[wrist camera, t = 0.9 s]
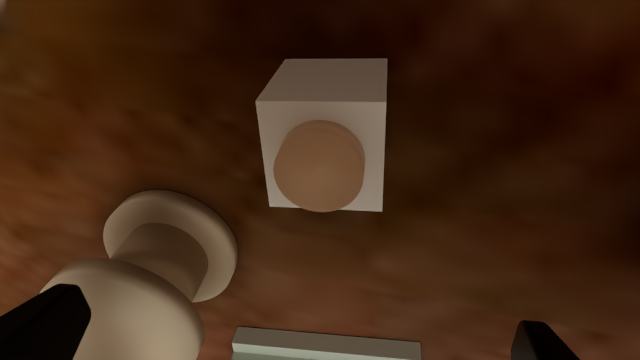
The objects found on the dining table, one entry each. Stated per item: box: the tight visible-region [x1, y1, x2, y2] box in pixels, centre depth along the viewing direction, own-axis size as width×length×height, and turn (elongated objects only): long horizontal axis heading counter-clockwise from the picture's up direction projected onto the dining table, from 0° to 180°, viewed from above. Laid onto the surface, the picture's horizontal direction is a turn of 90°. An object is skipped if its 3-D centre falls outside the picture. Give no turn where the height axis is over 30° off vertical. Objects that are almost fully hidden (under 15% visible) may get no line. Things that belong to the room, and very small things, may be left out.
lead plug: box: [255, 58, 387, 212], centre depth 15 cm, size 4×4×6 cm
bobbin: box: [39, 190, 238, 360], centre depth 21 cm, size 7×7×6 cm
